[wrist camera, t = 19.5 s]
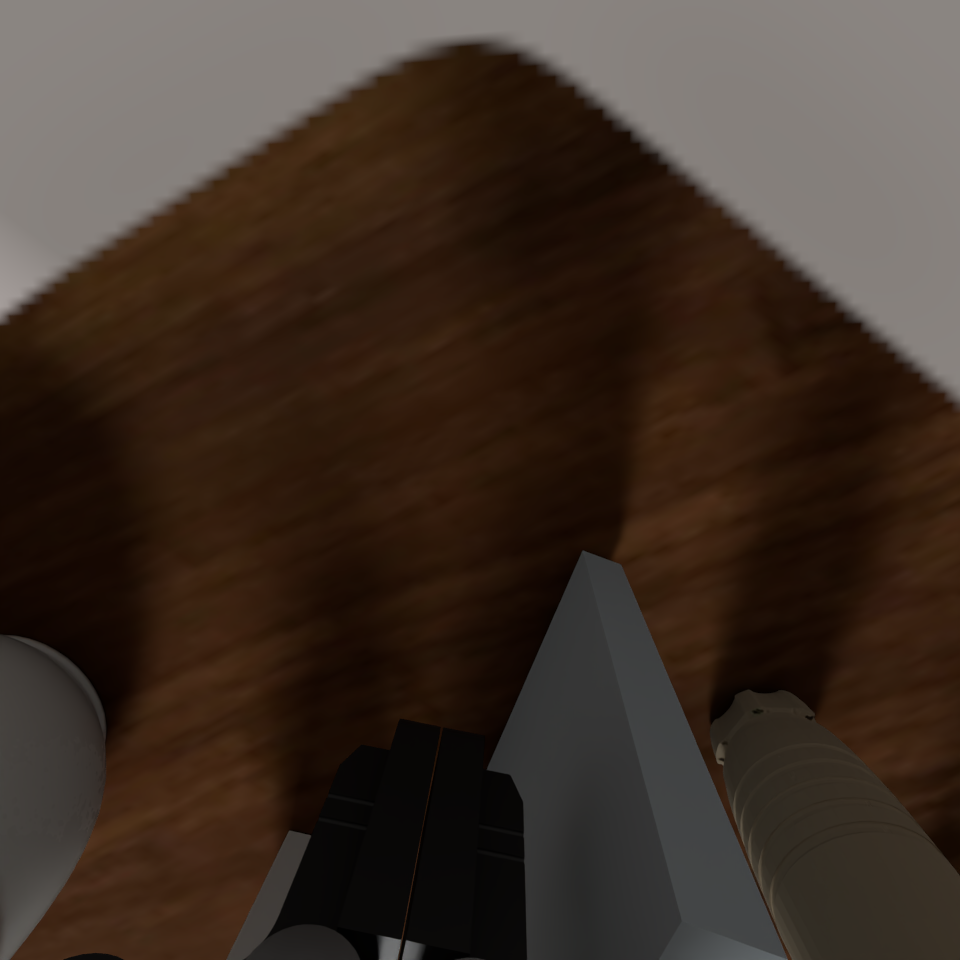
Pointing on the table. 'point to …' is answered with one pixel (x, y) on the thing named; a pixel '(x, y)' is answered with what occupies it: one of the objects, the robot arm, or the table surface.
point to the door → (621, 798)
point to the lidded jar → (44, 779)
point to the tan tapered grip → (831, 840)
